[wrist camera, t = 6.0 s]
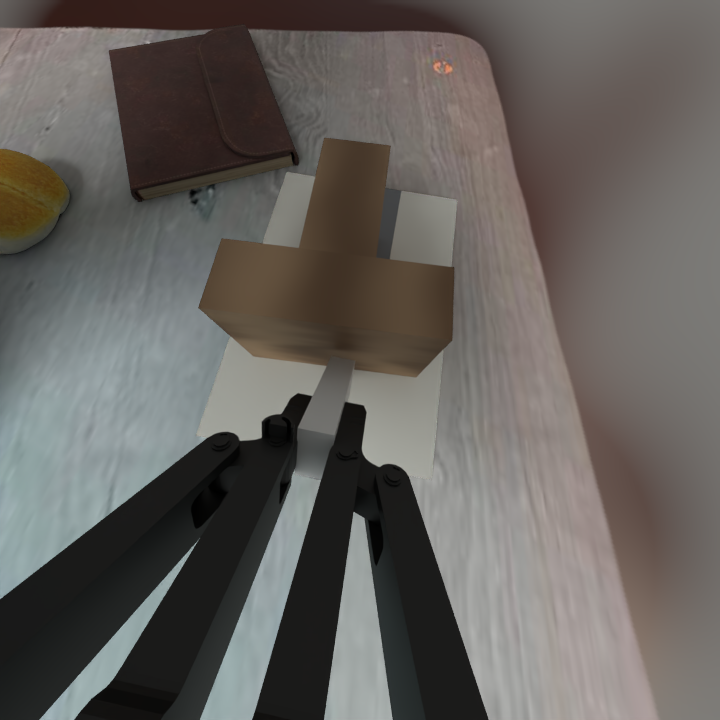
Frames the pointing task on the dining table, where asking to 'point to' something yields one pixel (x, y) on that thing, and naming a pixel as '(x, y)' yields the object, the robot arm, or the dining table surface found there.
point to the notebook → (197, 113)
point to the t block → (334, 280)
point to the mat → (373, 390)
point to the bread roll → (28, 201)
